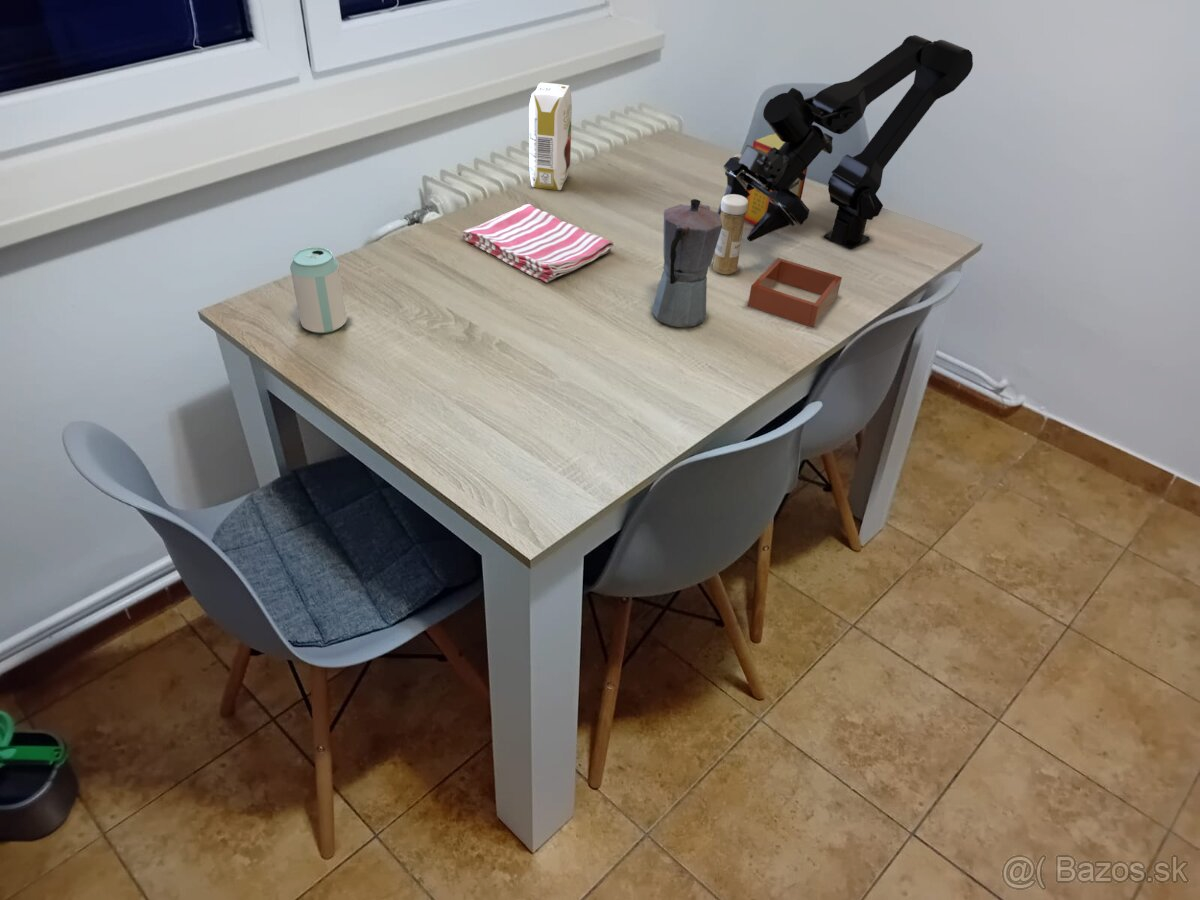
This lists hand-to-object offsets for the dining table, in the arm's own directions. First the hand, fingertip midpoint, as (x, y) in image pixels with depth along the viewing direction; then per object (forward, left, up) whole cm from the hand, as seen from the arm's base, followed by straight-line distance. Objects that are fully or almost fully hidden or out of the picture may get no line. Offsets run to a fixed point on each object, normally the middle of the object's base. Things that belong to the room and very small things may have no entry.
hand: (732, 228), depth 159 cm
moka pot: (+19, +6, -8) cm, 21 cm away
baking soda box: (-22, -8, -8) cm, 25 cm away
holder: (0, +15, -8) cm, 17 cm away
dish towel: (+22, -27, -8) cm, 36 cm away
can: (+65, -28, -8) cm, 71 cm away
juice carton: (+2, -47, -8) cm, 48 cm away
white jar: (-35, -27, -8) cm, 45 cm away
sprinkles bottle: (0, 0, -8) cm, 8 cm away
